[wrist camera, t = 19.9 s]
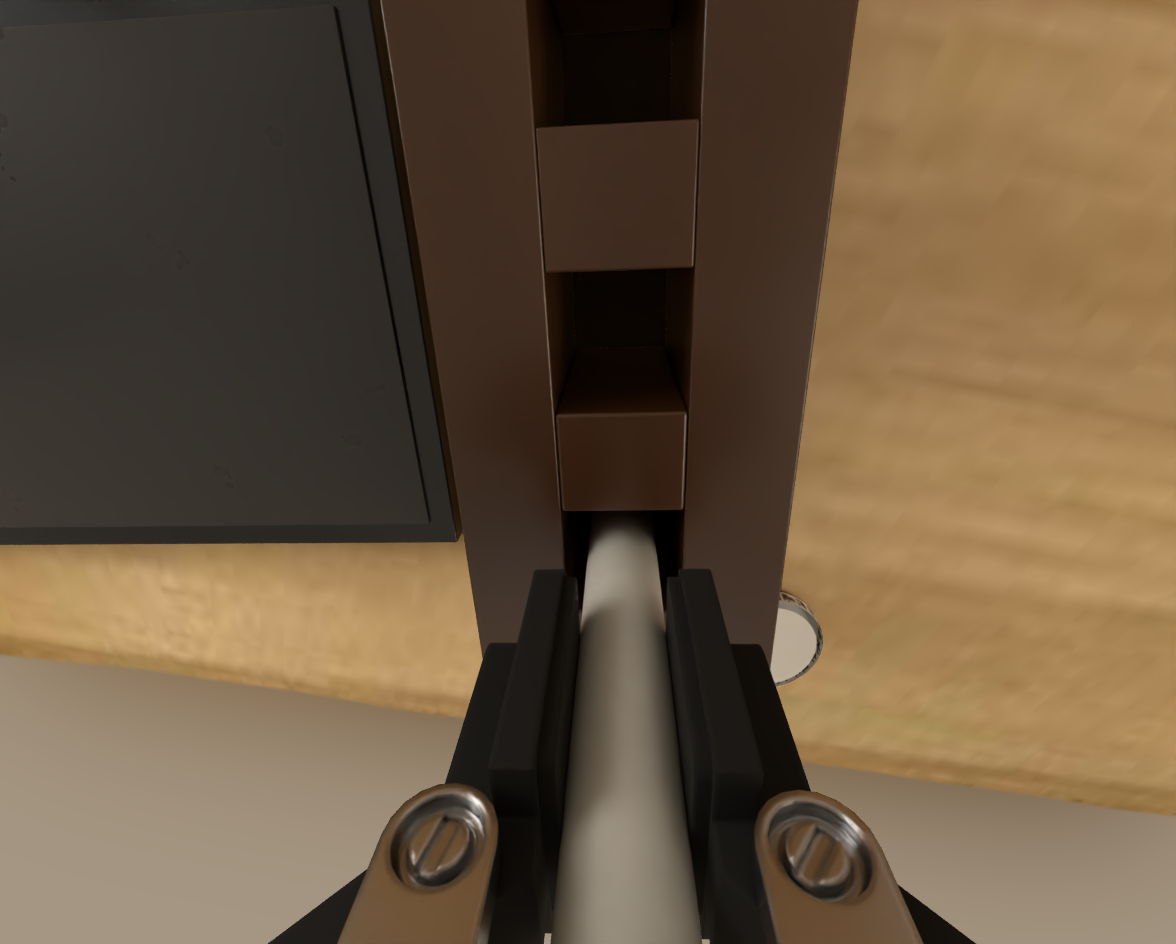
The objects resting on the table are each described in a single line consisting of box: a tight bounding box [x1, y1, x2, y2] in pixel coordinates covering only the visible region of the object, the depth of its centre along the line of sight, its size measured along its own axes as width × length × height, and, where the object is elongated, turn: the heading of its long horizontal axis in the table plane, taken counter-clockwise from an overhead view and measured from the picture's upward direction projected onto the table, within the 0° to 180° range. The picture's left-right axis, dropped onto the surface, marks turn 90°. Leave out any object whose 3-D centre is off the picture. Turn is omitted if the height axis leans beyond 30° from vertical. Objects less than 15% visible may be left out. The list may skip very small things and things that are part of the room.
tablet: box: [0, 0, 463, 545], centre depth 16 cm, size 22×15×1 cm
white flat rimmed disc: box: [770, 592, 823, 686], centre depth 20 cm, size 4×4×1 cm
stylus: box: [551, 510, 702, 944], centre depth 10 cm, size 2×2×14 cm
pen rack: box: [380, 0, 859, 668], centre depth 13 cm, size 7×17×6 cm, turn 2°
